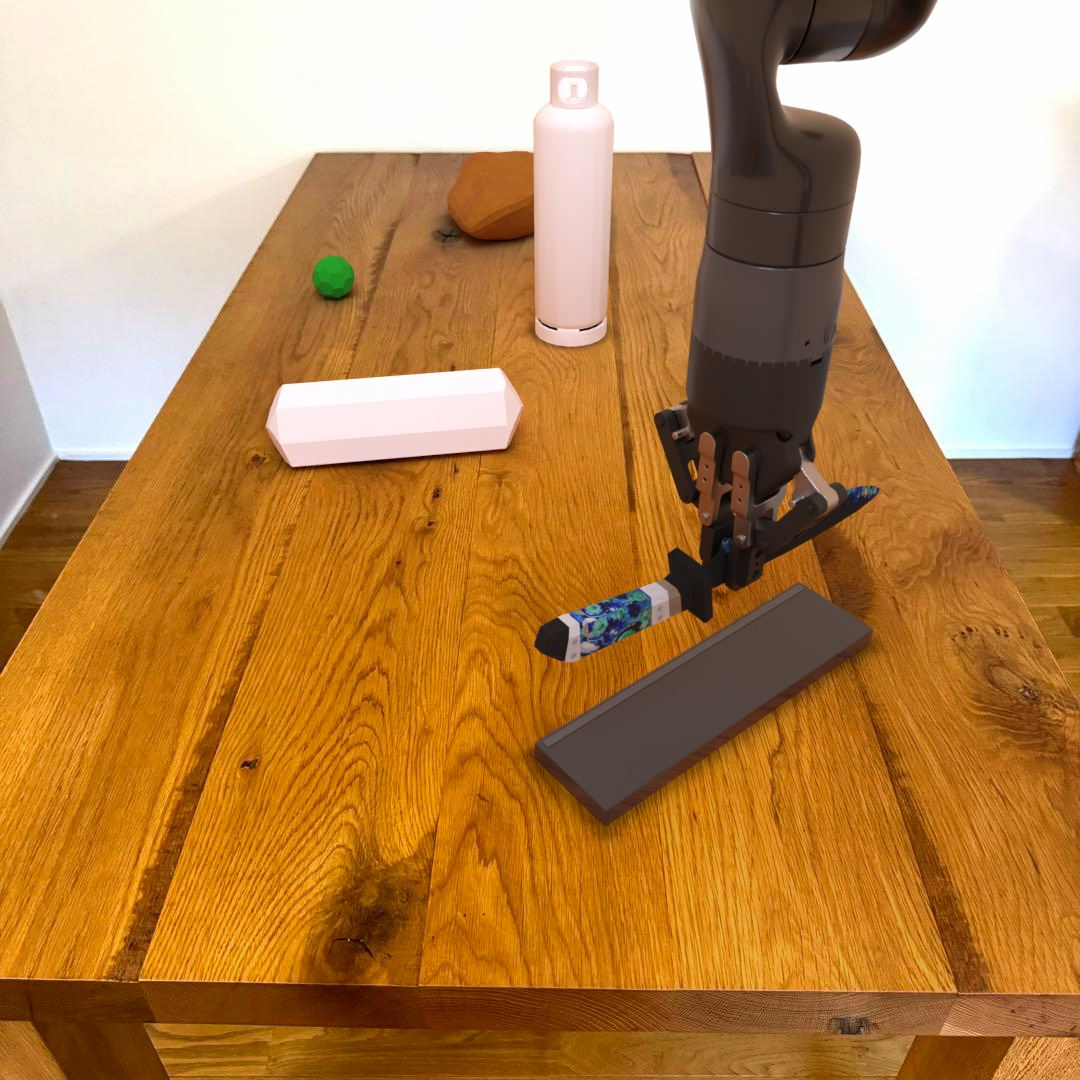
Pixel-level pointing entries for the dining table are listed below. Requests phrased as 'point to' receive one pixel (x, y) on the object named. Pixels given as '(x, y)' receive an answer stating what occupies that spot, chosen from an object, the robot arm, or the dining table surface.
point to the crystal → (393, 416)
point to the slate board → (699, 700)
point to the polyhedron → (333, 276)
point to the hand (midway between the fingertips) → (728, 575)
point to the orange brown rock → (494, 195)
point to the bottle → (572, 209)
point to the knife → (665, 595)
